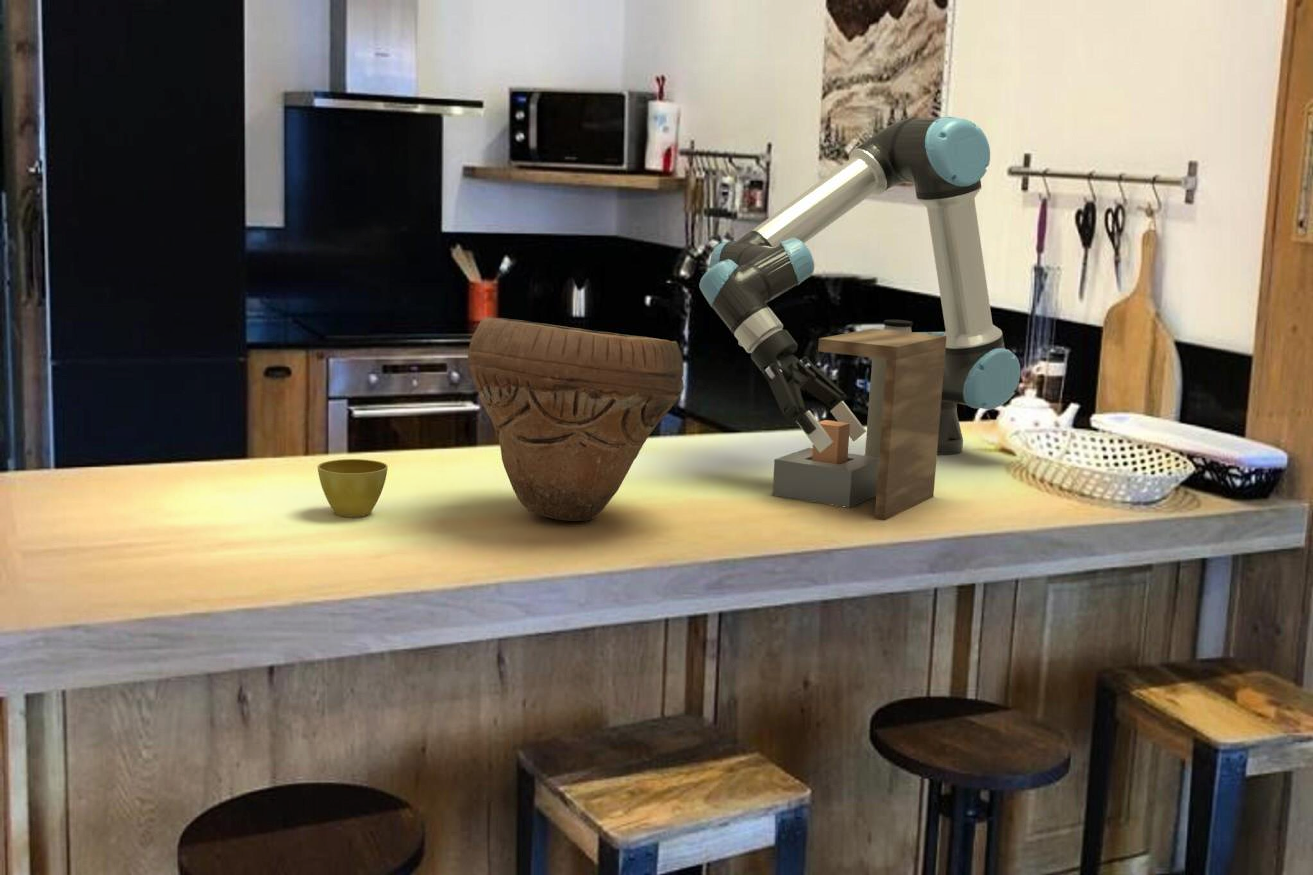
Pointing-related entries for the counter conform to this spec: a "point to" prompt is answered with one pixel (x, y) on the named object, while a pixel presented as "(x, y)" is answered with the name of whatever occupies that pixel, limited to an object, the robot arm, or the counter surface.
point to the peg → (834, 443)
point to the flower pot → (352, 485)
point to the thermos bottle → (879, 393)
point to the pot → (571, 407)
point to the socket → (826, 479)
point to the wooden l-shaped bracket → (903, 411)
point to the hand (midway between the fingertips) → (844, 442)
